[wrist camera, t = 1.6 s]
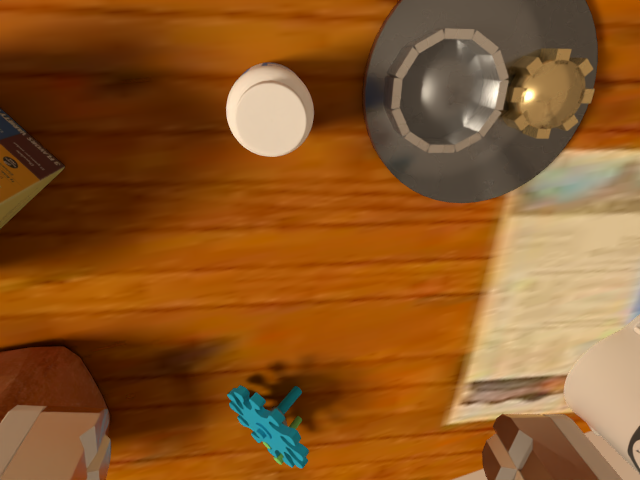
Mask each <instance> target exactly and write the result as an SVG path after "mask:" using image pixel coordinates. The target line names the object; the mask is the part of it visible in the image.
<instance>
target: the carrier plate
mask: <svg viewBox="0 0 640 480" xmlns="http://www.w3.org/2000/svg"><path fill="white" fill-rule="evenodd" d="M597 62H598V45H597V37H596V30H595V26H594V22H593V18H592V15H591V12H590V10H589V7H588V5H587V3H586V0H399V2H398V3H397V4H396V5H395V6H394V7H393V9H392V10H391V12H390V13H389V15H388V16H387V18H386V19H385V21H384V22H383V24H382V26H381V28H380V30H379V32H378V34H377V36H376V38H375V40H374V43H373V45H372V48H371V51H370V53H369V57H368V61H367V65H366V69H365V74H364V81H363V112H364V120H365V124H366V127H367V131H368V135H369V137H370V140H371V142H372V145H373V147H374V149H375V151H376V152H377V154H378V156H379V157H380V159H381V160H382V162H383V163H384V164H385V165H386V167H387V168H388V169H389V170H390V172H391V173H392V174H393V175H394V176H395V177H396V178H398V179H399V180H400V181H401V182H402V183H403V184H405V185H406V186H407V187H409V188H410V189H412V190H413V191H415V192H417V193H419V194H421V195H423V196H426V197H429V198H432V199H435V200H439V201H445V202H453V203H469V202H478V201H483V200H488V199H491V198H494V197H498V196H501V195H503V194H505V193H508V192H510V191H512V190H514V189H516V188H518V187H520V186H521V185H523V184H525V183H526V182H528V181H529V180H531V179H532V178H533V177H535V176H536V175H538V174H539V173H540V172H541V171H542V170H543V169H545V168H546V167H547V166H548V165H549V164H550V163H551V162H552V161H553V160H554V159H555V158H556V157H557V156H558V154H559V153H560V152H561V151H562V150H563V149H564V147H565V146H566V144H567V143H568V142H569V140H570V139H571V138H572V136H573V134H574V133H575V131H576V129H577V128H578V126H579V124H580V122H581V120H582V118H583V116H584V114H585V112H586V109H587V107H588V104H589V103H591V101H592V98H593V94H594V91H595V89H593V87H594V83H595V78H596V71H597Z"/></svg>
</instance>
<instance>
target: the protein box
mask: <svg viewBox="0 0 640 480" xmlns="http://www.w3.org/2000/svg"><path fill="white" fill-rule="evenodd" d="M64 168H65V166H64V165H63V164H62V163H61V162H60V161H59V160H57V159H56V158H55V157H54V156H53V155H52V154H50V153H49V152H48V151H47V150H46V149H45V148H44V147H43V146H42V145H41V144H39V143H38V142H37V141H36V140H35V139H34V138H33V137H32V136H30V135H29V134H28V133H27V132H26V131H25V130H24V129H23V128H22V127H21V126H20V125H18V124H17V123H16V122H15V121H14V120H13V119H12V118H11V117H10V116H8V115H7V114H6V113H5V112H4V111H3V110H2V109H1V108H0V229H1V228H2V227H3V226H4V225H5V224H6V223H7V222H8V221H9V220H10V219H11V218H13V217H14V216H15V215H16V214H17V213H18V212H19V211H20V210H21V209H22V208H23V207H24V206H25V205H26V204H27V203H28V202H29V201H30V200H32V199H33V198H34V197H35V196H36V195H37V194H38V193H39V192H40V191H41V190H42V189H43V188H44V187H45V186H46V185H48V184H49V183H50V182H51V181H52V180H53V179H54V178H55V177H56V176H57V175H58V174H59V173H60V172H61V171H62V170H63V169H64Z"/></svg>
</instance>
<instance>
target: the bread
mask: <svg viewBox="0 0 640 480" xmlns="http://www.w3.org/2000/svg"><path fill="white" fill-rule="evenodd" d="M17 405H30V406H66V407H90V408H106V409H108V408H107V406H106V404H105V401H104V399H103V397H102V394H101V393H100V391H99V389H98V387H97V385H96V383H95V381H94V380H93V378H92V376H91V374H90V373H89V371H88V369H87V368H86V366H85V365H84V363H83V361H82V360H81V358H80V357H79V356H77V355H76V354H74V353H73V352H72V351H70V350H69V349H67V348H66V347H63V346H53V347H30V348H23V349H17V350H10V351H4V352H0V423H1V421H2V420H3V419H4V417H5V416H6V414H7V413H8V412H9V411H10V410H12V409H13V408H14V407H15V406H17ZM108 414H109V425H108V427H107V430H106V432H105V435H106V436H107V435H108V432H109V426H110V416H111V415H110V413H109V411H108Z"/></svg>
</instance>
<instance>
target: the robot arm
mask: <svg viewBox="0 0 640 480" xmlns="http://www.w3.org/2000/svg"><path fill="white" fill-rule="evenodd" d="M564 397H565V401H566V403H567V405H568V406H569V408H570V409H571V410H572V411H573V412H574V413H575V414H577V415H578V416H579V417H581V418H582V419H583V420H584V421H585V422H587V423H588V426H589V428H590V429H591V430H592V431H593V432H594V433H595V434H596V435H598V436H602V437H603V438H604V439H605V440H606V441H607V442H608V443H609V444H610V445H611V446H612V447H613V448H614V449H615V450H616V451H617V452H618V453H619V454H620V455H621V456H622V457H623V458H624V459H625V460H626V461H627V462H628V463H629V464H630V465H631V466H632V467H633V468H634V469H635V470H636V471H637V472H638V473H639V474H640V315H638V316H637V317H636V318H635V319H634V320H632V321H631V322H630V323H629V324H628V325H627V326H626V327H624V328H622V329H621V330H619V331H617V332H615V333H613V334H611V335H609V336H607V337H606V338H604V339H602V340H601V341H599V342H598V343H596V344H595V345H593V346H592V347H591V348H590V349H588V350H587V351H586V352H585V353H584V354H583V355H582V356H581V357H580V358H579V359H578V360H577V361H576V363H575V364H574V365H573V367H572V368H571V370H570V372H569V374H568V376H567V378H566V381H565V385H564ZM108 425H109V414H108V409H106V408H90V407H66V406H30V405H17V406H15V407H14V408H13V409H12V410H10V411H9V412H8V413H7V414H6V416H5V417H4V419H3V420H2V421H1V423H0V480H106V476H107V472H108V468H109V463H110V455H111V439H110V438H109V437H107V436H106V435H105V432H106V430H107V427H108ZM493 428H494V430H495V432H496V434H495V435H494V436H492V437H491V438H490V439H488V440H487V441H486V444H485V446H484V449H483V452H482V457H483V468H484V471H485V474H486V477H487V479H488V480H622V478H621V477H620V476H619V475H618V474H617V473H616V471H615V470H614V469H613V468H612V467H611V465H610V464H609V463H608V462H607V461H606V459H605V458H604V457H603V456H602V455H601V454H600V452H599V451H598V450H597V449H596V448H595V446H594V445H593V444H592V443H591V442H590V441H589V439H588V438H587V437H586V436H585V435H584V433H583V432H582V431H581V430H580V428H579V427H578V426H577V425H576V424H575V423H574V421H573V420H572V419H570V418H569V417H567V416H566V415H545V414H544V415H540V414H502V415H501V416H499V417H498V418H497V419H496V421H495V423H494V425H493Z"/></svg>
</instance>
